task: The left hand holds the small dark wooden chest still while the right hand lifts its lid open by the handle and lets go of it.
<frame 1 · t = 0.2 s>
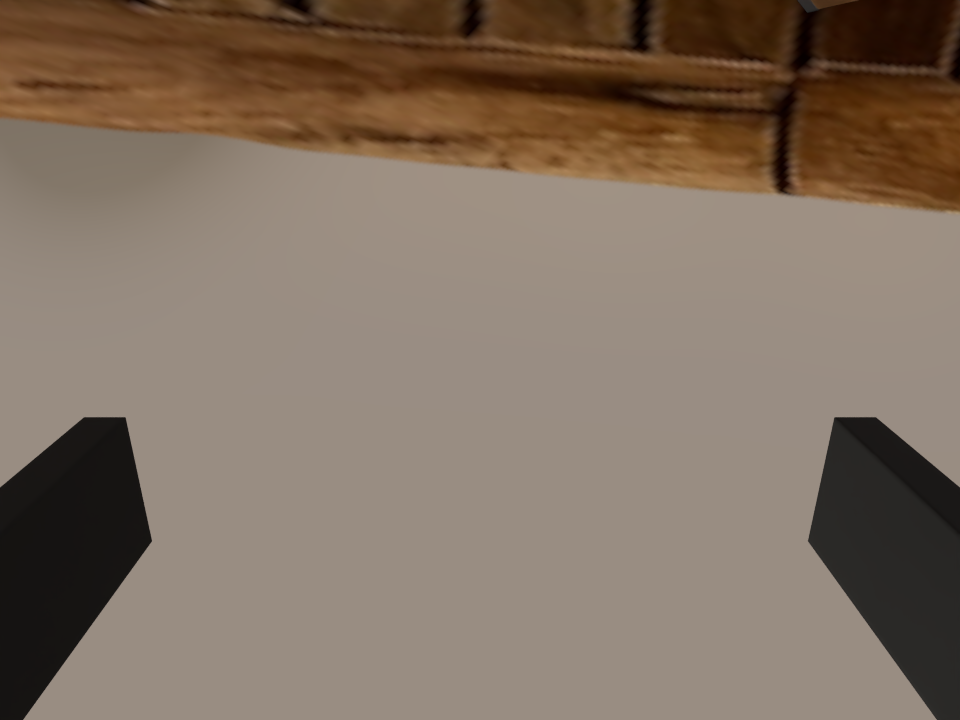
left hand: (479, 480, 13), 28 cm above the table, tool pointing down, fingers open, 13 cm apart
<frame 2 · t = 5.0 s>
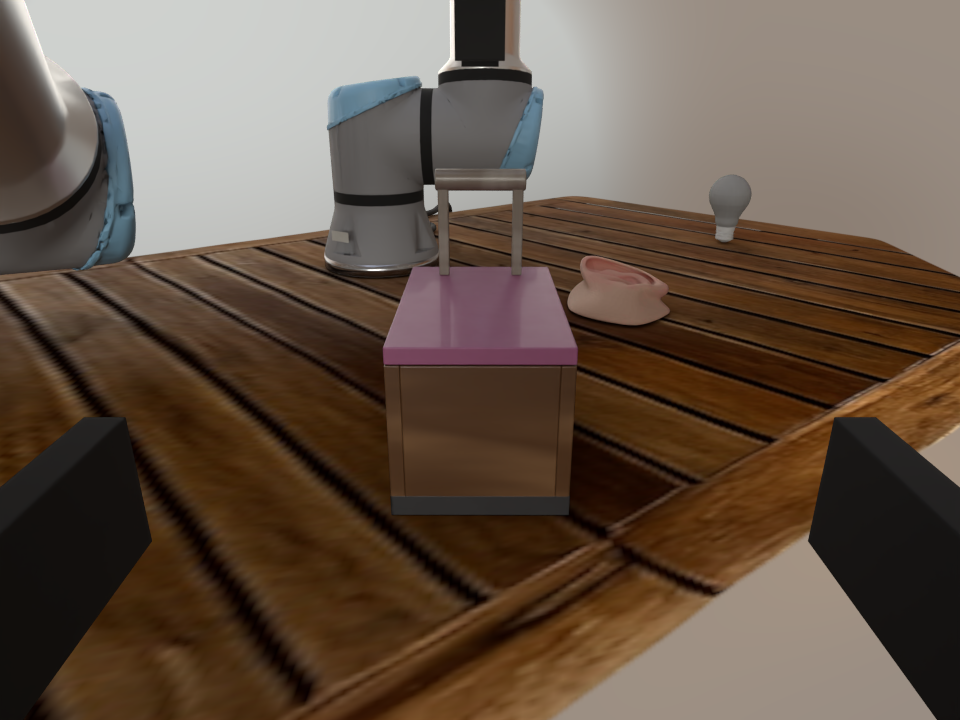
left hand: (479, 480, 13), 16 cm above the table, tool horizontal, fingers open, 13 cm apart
anatomical model: (616, 306, 75), on the table
chest: (480, 445, 46), on the table
light bulb: (723, 242, 106), on the table
lid: (480, 250, 42), point 13 cm above the table, hinge at 0.0°
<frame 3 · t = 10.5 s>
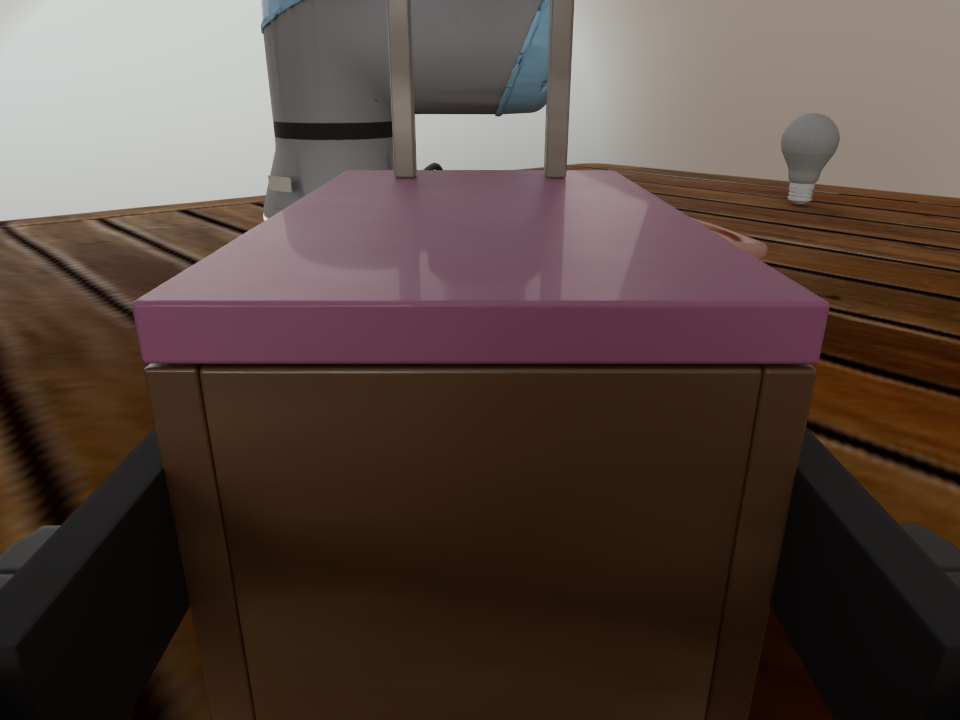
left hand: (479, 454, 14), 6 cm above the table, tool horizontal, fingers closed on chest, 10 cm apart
anatomical model: (684, 278, 50), on the table
chest: (480, 543, 21), on the table, touching left hand
light bulb: (798, 205, 81), on the table
lid: (480, 74, 16), point 13 cm above the table, hinge at 0.0°
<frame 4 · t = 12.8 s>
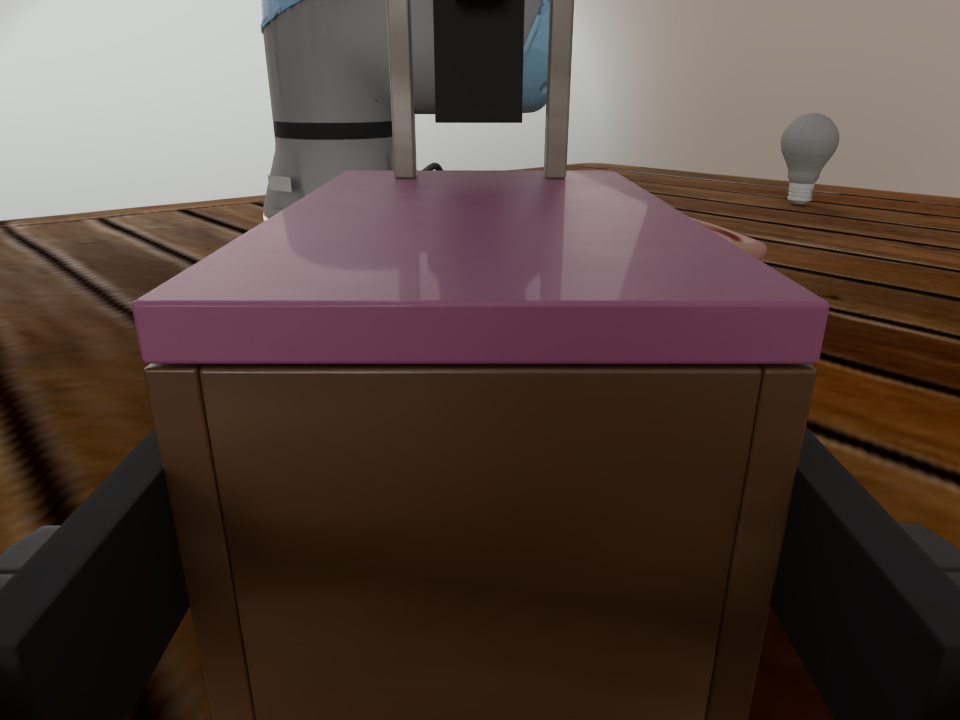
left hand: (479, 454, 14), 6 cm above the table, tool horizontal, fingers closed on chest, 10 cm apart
anatomical model: (684, 278, 50), on the table
chest: (480, 543, 21), on the table, touching left hand
light bulb: (798, 205, 81), on the table
lid: (480, 74, 16), point 13 cm above the table, hinge at -0.1°, touching right hand
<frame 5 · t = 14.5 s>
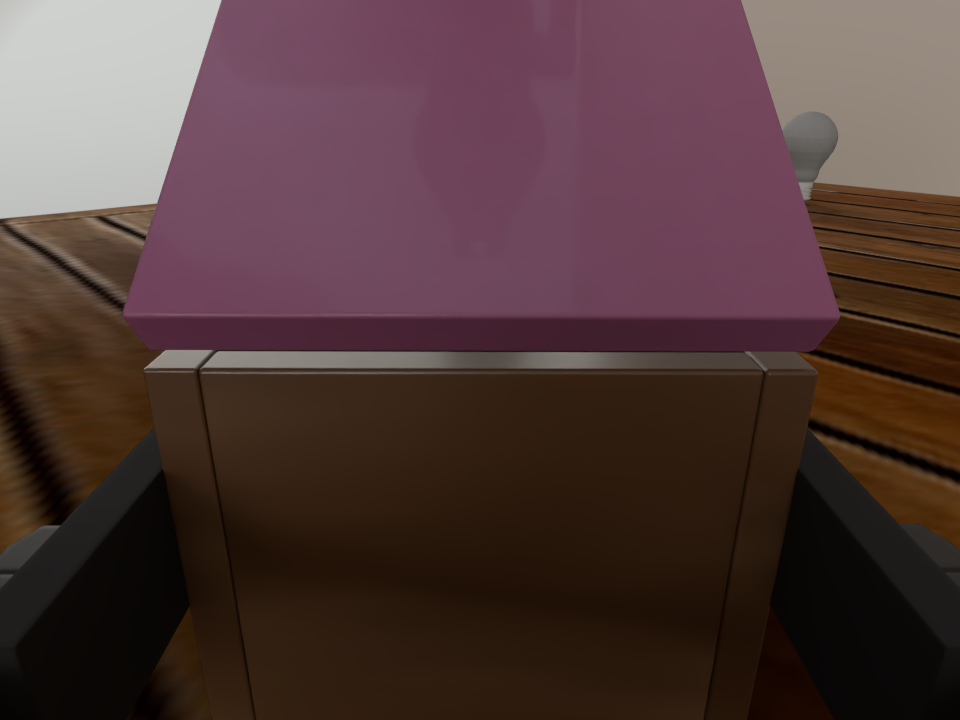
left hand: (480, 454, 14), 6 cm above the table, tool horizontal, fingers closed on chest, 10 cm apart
chest: (479, 541, 21), on the table, touching left hand
light bulb: (797, 203, 81), on the table
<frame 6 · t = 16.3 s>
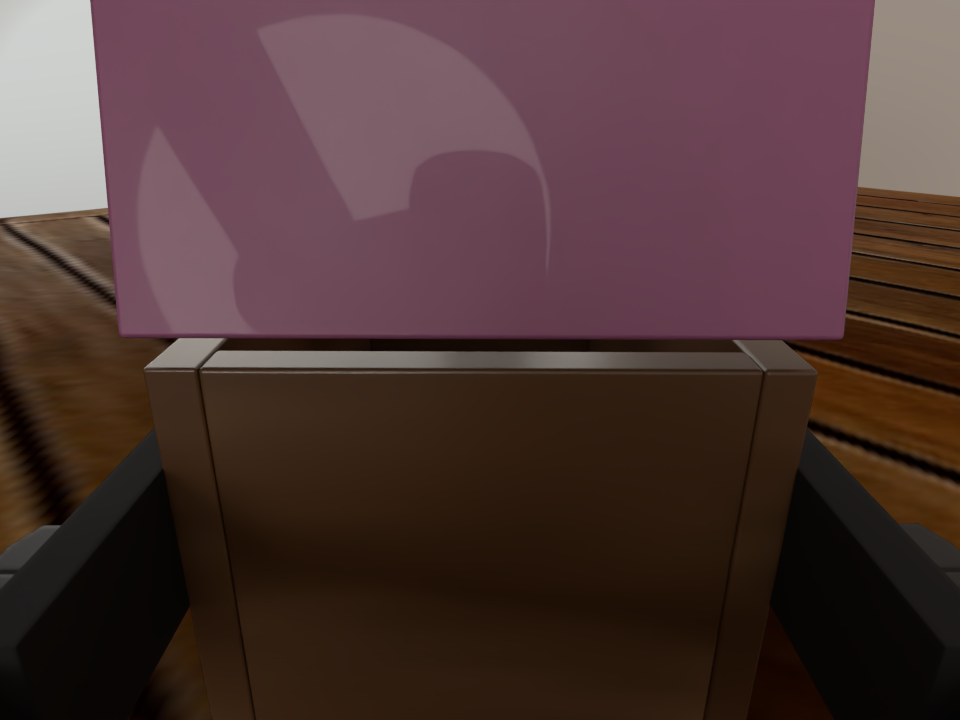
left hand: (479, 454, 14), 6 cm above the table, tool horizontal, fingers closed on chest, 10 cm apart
chest: (479, 540, 21), on the table, touching left hand
when the left hand's fingers open (6 cm above the table, at t = 20.4 s): chest stays where it is, on the table.
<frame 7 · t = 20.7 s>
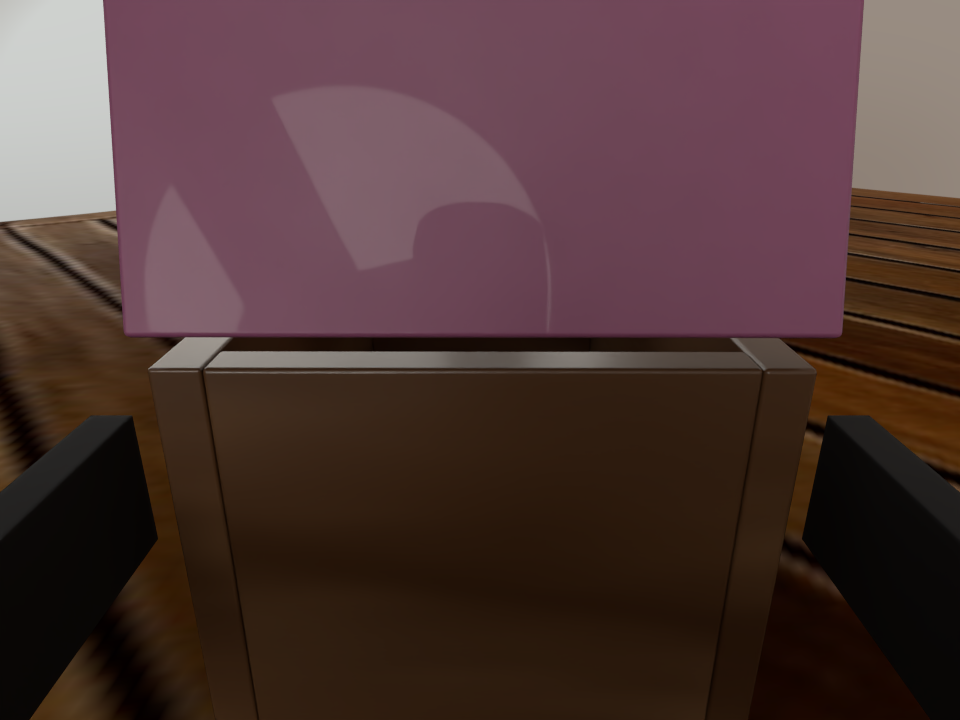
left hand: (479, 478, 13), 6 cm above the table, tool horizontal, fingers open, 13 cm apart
chest: (481, 542, 21), on the table
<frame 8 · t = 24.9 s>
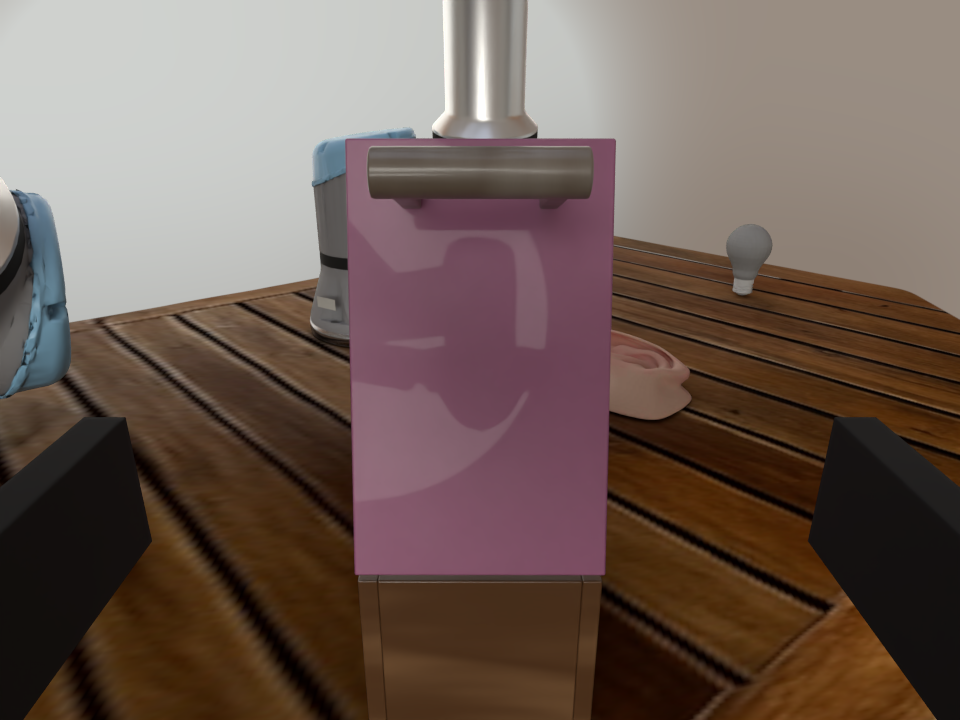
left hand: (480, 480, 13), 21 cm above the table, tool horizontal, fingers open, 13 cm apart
anatomical model: (631, 390, 68), on the table
chest: (480, 616, 39), on the table
light bulb: (741, 295, 98), on the table
lid: (480, 377, 23), point 19 cm above the table, hinge at 75.3°
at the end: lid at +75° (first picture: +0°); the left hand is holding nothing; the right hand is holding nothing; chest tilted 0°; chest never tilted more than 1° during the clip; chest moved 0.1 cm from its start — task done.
